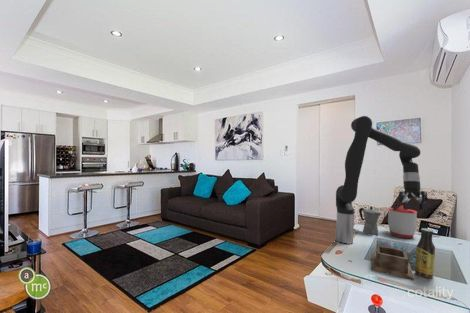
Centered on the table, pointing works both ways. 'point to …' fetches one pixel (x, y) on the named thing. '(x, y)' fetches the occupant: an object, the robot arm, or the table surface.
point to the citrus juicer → (402, 222)
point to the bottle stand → (392, 262)
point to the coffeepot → (370, 220)
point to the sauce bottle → (425, 254)
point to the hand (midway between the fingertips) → (413, 210)
